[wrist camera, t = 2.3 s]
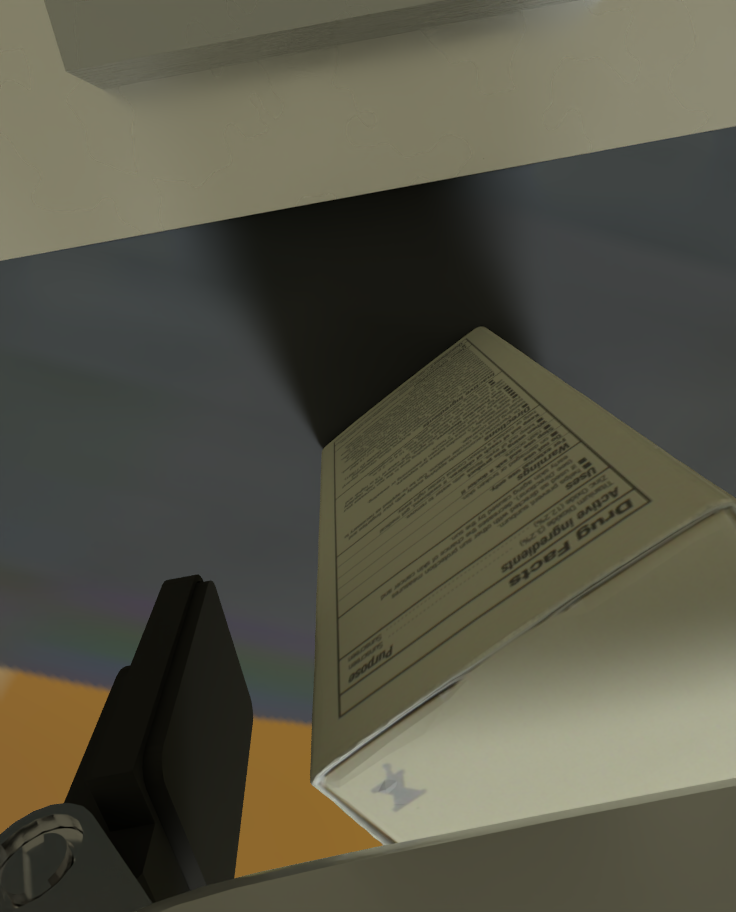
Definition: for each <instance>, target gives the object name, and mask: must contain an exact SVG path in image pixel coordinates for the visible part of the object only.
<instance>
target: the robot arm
mask: <svg viewBox="0 0 736 912" xmlns="http://www.w3.org/2000/svg"><path fill="white" fill-rule="evenodd" d="M252 725H253V709H252V703H251V698H250V695H249V692H248V689H247V686H246V682H245V679H244V676H243V673H242V670H241V666H240V663H239V660H238V657H237V654H236V651H235V647H234V644H233V641H232V638H231V635H230V631H229V628H228V625H227V622H226V619H225V615H224V612H223V609H222V606H221V603H220V600H219V596H218V593H217V590H216V587H215V585H214V583H213V582H212V581H206V582H203V579H202V578H201V576H200V575H192V576H187V577H181V578H176V579H171V580H166V581H164V583H163V585H162V587H161V590H160V592H159V595H158V597H157V600H156V602H155V605H154V607H153V610H152V613H151V615H150V618H149V620H148V623H147V625H146V628H145V630H144V633H143V635H142V638H141V640H140V643H139V645H138V648H137V650H136V653H135V656H134V658H133V661H132V663H131V665H130V666H125V667H124V668H122V669H121V670H120V672H119V673H118V675H117V677H116V679H115V681H114V684H113V686H112V689H111V691H110V693H109V696H108V698H107V701H106V703H105V706H104V708H103V710H102V713H101V715H100V717H99V720H98V722H97V725H96V727H95V729H94V732H93V734H92V737H91V739H90V741H89V744H88V746H87V749H86V751H85V754H84V756H83V758H82V761H81V763H80V766H79V768H78V770H77V773H76V775H75V778H74V780H73V782H72V785H71V787H70V790H69V792H68V795H67V797H66V799H65V802H64V803H63V804H54V805H50V806H47V807H44V808H42V809H39V810H36V811H33V812H32V813H30V814H28V815H27V816H25V817H23V818H22V819H20V820H18V821H16V822H15V823H13V824H12V825H11V826H10V827H9V828H7V829H6V830H5V831H4V832H3V833H1V834H0V912H736V778H732V779H726V780H721V781H716V782H711V783H705V784H700V785H695V786H689V787H684V788H679V789H674V790H668V791H663V792H658V793H652V794H647V795H642V796H637V797H632V798H626V799H621V800H616V801H611V802H605V803H600V804H595V805H590V806H584V807H579V808H574V809H569V810H563V811H558V812H553V813H548V814H543V815H538V816H533V817H527V818H522V819H517V820H512V821H507V822H502V823H497V824H492V825H487V826H482V827H476V828H471V829H466V830H461V831H456V832H451V833H446V834H441V835H436V836H431V837H426V838H420V839H415V840H410V841H405V842H400V843H395V844H390V845H385V846H380V847H375V848H370V849H365V850H361V851H356V852H351V853H346V854H342V855H338V856H332V857H328V858H323V859H318V860H314V861H309V862H304V863H300V864H295V865H290V866H286V867H281V868H277V869H272V870H268V871H263V872H258V873H254V874H250V875H246V876H242V877H239V878H234V875H235V867H236V858H237V850H238V841H239V833H240V824H241V817H242V808H243V800H244V791H245V782H246V775H247V766H248V758H249V750H250V741H251V732H252Z"/></svg>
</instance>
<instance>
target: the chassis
mask: <svg viewBox="0 0 736 912" xmlns="http://www.w3.org/2000/svg"><path fill="white" fill-rule="evenodd" d="M734 126H736V0H0V261H1V260H7V259H13V258H19V257H25V256H30V255H36V254H42V253H47V252H53V251H58V250H63V249H69V248H74V247H80V246H85V245H91V244H96V243H102V242H107V241H113V240H118V239H123V238H129V237H134V236H140V235H145V234H151V233H156V232H162V231H167V230H173V229H178V228H184V227H189V226H194V225H200V224H205V223H211V222H216V221H222V220H227V219H233V218H238V217H244V216H249V215H255V214H260V213H265V212H271V211H276V210H282V209H287V208H293V207H298V206H304V205H309V204H315V203H320V202H325V201H331V200H336V199H342V198H347V197H353V196H358V195H364V194H369V193H375V192H380V191H386V190H391V189H396V188H402V187H407V186H413V185H418V184H424V183H429V182H435V181H440V180H446V179H451V178H456V177H462V176H467V175H473V174H478V173H484V172H489V171H495V170H500V169H506V168H511V167H517V166H522V165H527V164H533V163H538V162H544V161H549V160H555V159H560V158H566V157H571V156H577V155H582V154H587V153H593V152H598V151H604V150H609V149H615V148H620V147H626V146H631V145H637V144H642V143H648V142H653V141H658V140H664V139H669V138H675V137H680V136H686V135H691V134H697V133H702V132H708V131H713V130H718V129H723V128H729V127H734Z"/></svg>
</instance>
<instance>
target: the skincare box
mask: <svg viewBox="0 0 736 912" xmlns="http://www.w3.org/2000/svg"><path fill="white" fill-rule="evenodd" d="M732 778H736V498H734V497H733V496H732V495H730V494H729V493H727V492H725V491H724V490H722V489H721V488H719V487H718V486H716V485H715V484H713V483H711V482H710V481H708V480H707V479H705V478H704V477H702V476H701V475H699V474H698V473H696V472H695V471H694V470H692V469H691V468H689V467H688V466H686V465H685V464H683V463H682V462H680V461H678V460H677V459H675V458H674V457H672V456H671V455H670V454H668V453H667V452H666V451H664V450H663V449H661V448H660V447H659V446H657V445H656V444H654V443H653V442H651V441H650V440H648V439H647V438H645V437H644V436H642V435H641V434H639V433H638V432H636V431H635V430H633V429H632V428H631V427H629V426H628V425H626V424H625V423H623V422H622V421H620V420H619V419H617V418H616V417H615V416H613V415H612V414H610V413H609V412H608V411H606V410H605V409H603V408H602V407H601V406H599V405H598V404H596V403H595V402H593V401H592V400H591V399H589V398H588V397H586V396H585V395H583V394H582V393H580V392H579V391H577V390H575V389H574V388H572V387H571V386H569V385H568V384H567V383H565V382H564V381H562V380H561V379H559V378H558V377H557V376H555V375H554V374H552V373H551V372H549V371H548V370H546V369H545V368H543V367H542V366H540V365H539V364H538V363H536V362H535V361H533V360H532V359H530V358H529V357H528V356H526V355H525V354H524V353H522V352H521V351H519V350H518V349H516V348H515V347H513V346H512V345H511V344H509V343H508V342H506V341H505V340H503V339H502V338H500V337H499V336H497V335H496V334H494V333H493V332H491V331H490V330H489V329H487V328H486V327H477V328H475V329H474V330H473V331H471V332H470V333H469V334H467V335H466V336H464V337H463V338H462V339H460V340H459V341H458V342H456V343H455V344H454V345H453V346H451V347H450V348H449V349H447V350H446V351H444V352H443V353H442V354H441V355H439V356H438V357H437V358H435V359H434V360H433V361H431V362H430V363H429V364H428V365H426V366H425V367H424V368H422V369H421V370H420V371H418V372H417V373H416V374H415V375H414V376H412V377H411V378H410V379H408V380H407V381H406V382H404V383H403V384H402V385H400V386H399V387H398V388H397V389H396V390H394V391H393V392H392V393H390V394H389V395H388V396H387V397H385V398H384V399H383V400H382V401H380V402H379V403H378V404H376V405H375V406H374V407H373V408H371V409H370V410H369V411H368V412H366V413H365V414H364V415H363V416H362V417H360V418H359V419H358V420H356V421H355V422H354V423H353V424H352V425H350V426H349V427H348V428H347V429H346V430H344V431H343V432H342V433H341V434H340V435H339V436H337V437H336V438H335V439H334V440H332V441H331V442H330V443H329V444H328V445H327V446H326V447H325V448H324V449H323V451H322V462H321V495H320V522H319V553H318V579H317V604H316V633H315V671H314V693H313V713H312V741H311V770H310V782H311V784H312V785H313V786H314V787H315V788H317V789H318V790H320V791H321V792H322V793H323V794H324V795H326V796H327V797H328V798H329V799H331V800H332V801H334V802H335V803H336V804H337V805H338V806H339V807H340V808H341V809H342V810H343V811H344V812H345V813H346V814H347V815H349V816H350V817H351V818H353V819H354V820H355V821H356V822H357V823H358V824H359V825H360V826H362V827H363V828H364V829H366V830H367V831H368V832H369V833H370V834H371V835H372V836H373V837H374V838H375V839H377V840H379V841H380V842H381V843H382V844H383V845H384V846H385V845H390V844H395V843H400V842H405V841H410V840H415V839H420V838H426V837H431V836H436V835H441V834H446V833H451V832H456V831H461V830H466V829H471V828H476V827H482V826H487V825H492V824H497V823H502V822H507V821H512V820H517V819H522V818H527V817H533V816H538V815H543V814H548V813H553V812H558V811H563V810H569V809H574V808H579V807H584V806H590V805H595V804H600V803H605V802H611V801H616V800H621V799H626V798H632V797H637V796H642V795H647V794H652V793H658V792H663V791H668V790H674V789H679V788H684V787H689V786H695V785H700V784H705V783H711V782H716V781H721V780H726V779H732Z"/></svg>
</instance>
